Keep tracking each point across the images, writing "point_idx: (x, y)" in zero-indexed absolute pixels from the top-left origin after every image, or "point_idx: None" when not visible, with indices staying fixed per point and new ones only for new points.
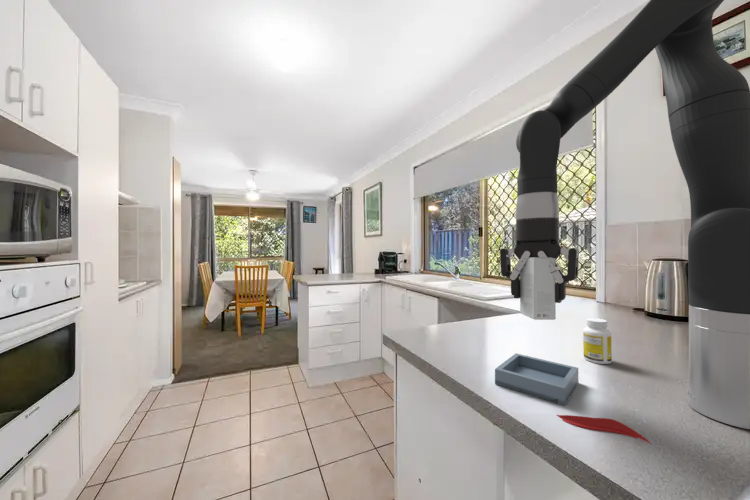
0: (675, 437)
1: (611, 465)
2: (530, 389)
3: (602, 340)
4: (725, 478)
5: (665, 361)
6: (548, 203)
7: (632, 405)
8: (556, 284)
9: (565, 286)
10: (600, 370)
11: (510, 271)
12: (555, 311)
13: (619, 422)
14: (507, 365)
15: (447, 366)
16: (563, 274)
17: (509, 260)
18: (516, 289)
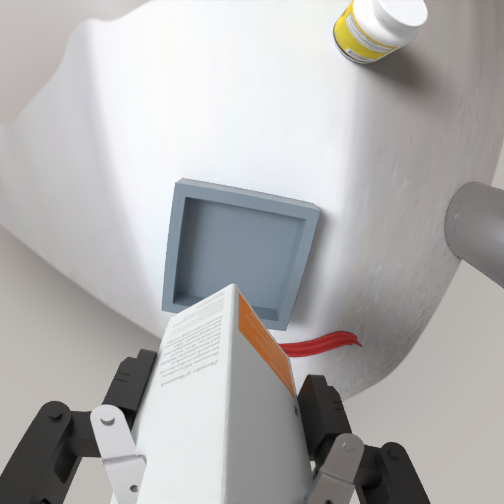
0: (392, 319)
1: None
2: None
3: (392, 49)
4: (395, 362)
5: (456, 15)
6: None
7: (378, 256)
8: (311, 457)
9: (348, 428)
10: (360, 103)
11: (73, 440)
12: (292, 376)
13: (341, 345)
14: (175, 272)
15: (72, 262)
16: (358, 465)
17: (44, 489)
18: None
